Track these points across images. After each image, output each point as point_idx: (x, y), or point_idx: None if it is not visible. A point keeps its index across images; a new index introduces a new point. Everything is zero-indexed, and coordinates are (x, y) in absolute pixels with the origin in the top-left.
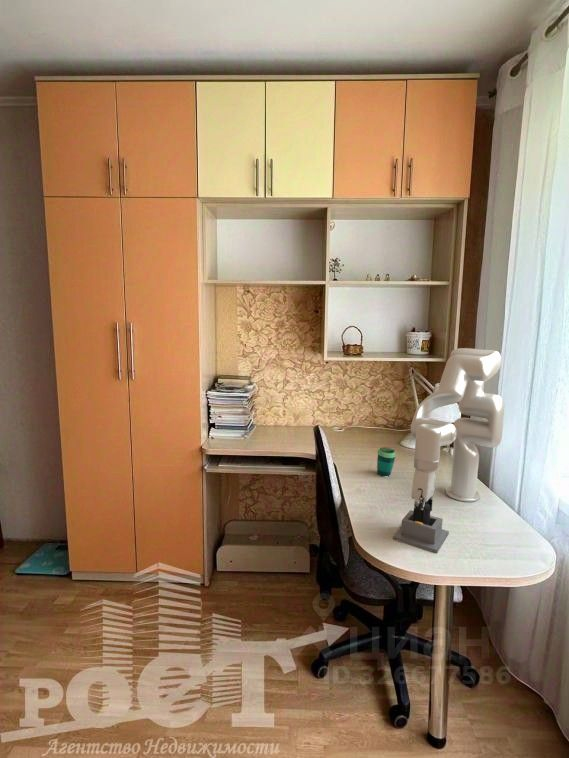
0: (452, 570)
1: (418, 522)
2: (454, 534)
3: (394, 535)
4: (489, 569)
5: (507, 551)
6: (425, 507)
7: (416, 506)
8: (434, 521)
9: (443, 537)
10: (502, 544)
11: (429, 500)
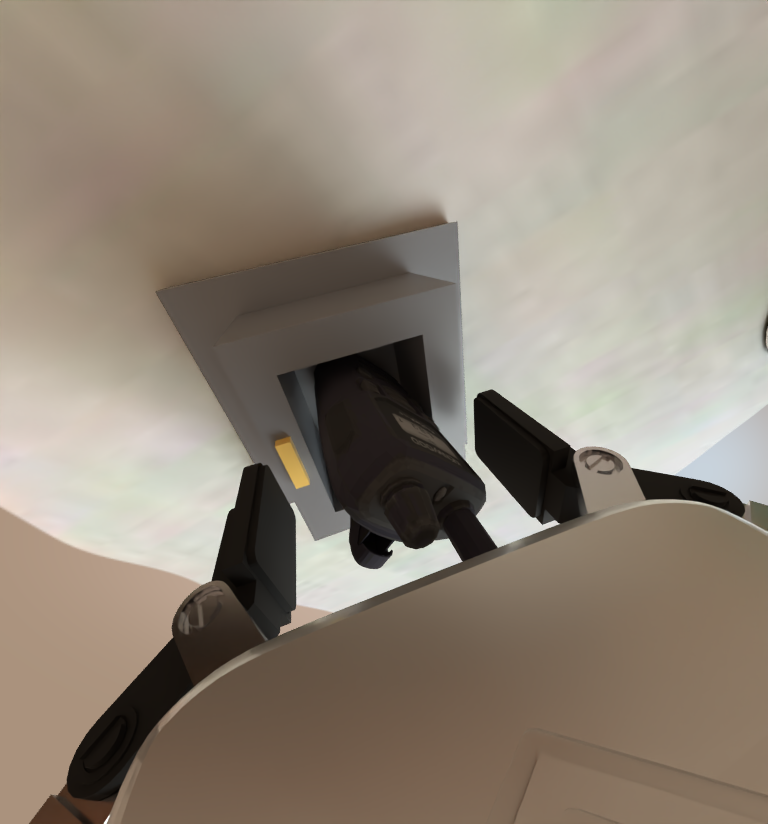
0: None
1: (289, 464)
2: (472, 448)
3: (176, 294)
4: (339, 595)
5: None
6: (377, 558)
7: (154, 689)
8: None
9: None
10: (497, 540)
11: (534, 504)
